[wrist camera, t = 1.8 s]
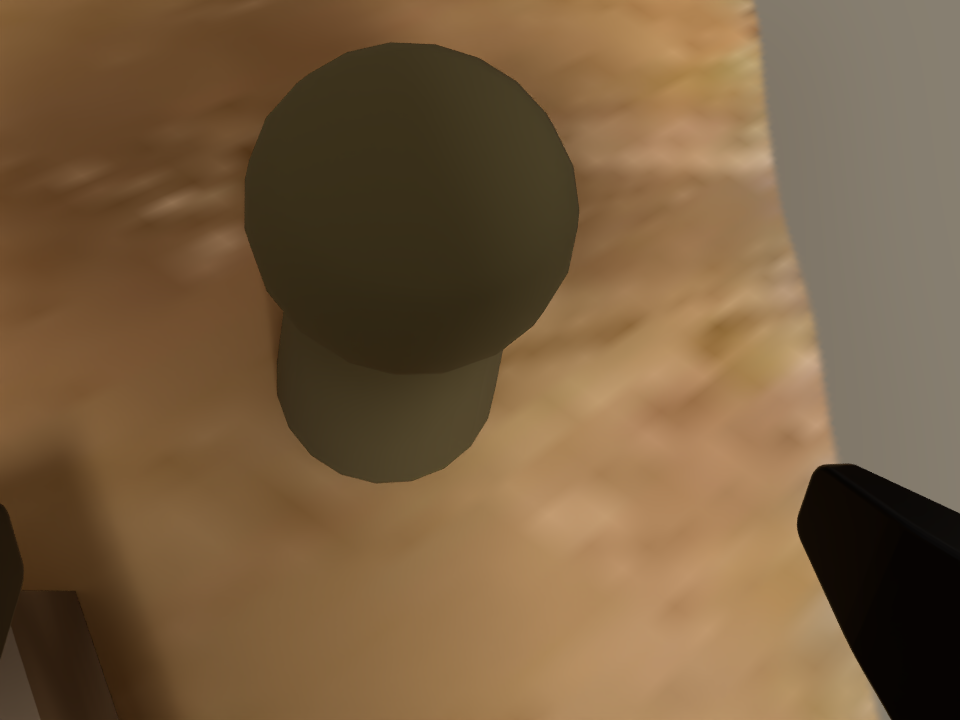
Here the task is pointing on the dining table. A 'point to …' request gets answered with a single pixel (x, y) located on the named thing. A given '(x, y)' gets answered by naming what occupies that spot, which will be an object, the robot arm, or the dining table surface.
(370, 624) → the dining table surface
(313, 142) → the cork
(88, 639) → the walnut plinth
